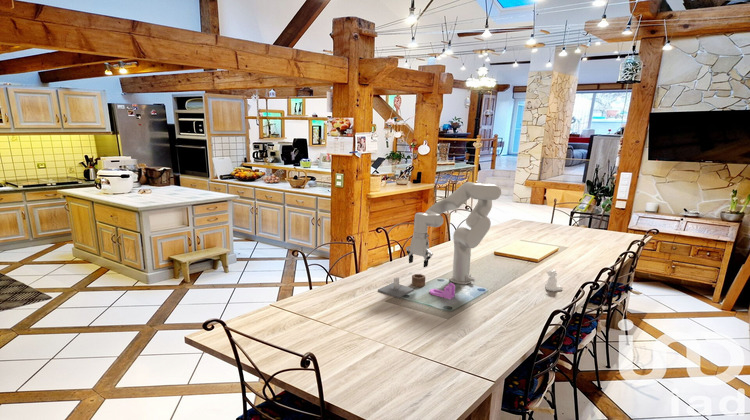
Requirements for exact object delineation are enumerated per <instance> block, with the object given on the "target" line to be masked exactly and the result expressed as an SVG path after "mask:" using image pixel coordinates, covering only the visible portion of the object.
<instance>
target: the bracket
mask: <svg viewBox="0 0 750 420" xmlns="http://www.w3.org/2000/svg"><path fill="white" fill-rule="evenodd" d="M429 294H430V295H433V296H437V297H440V298H443V297H444V298H443V299H447V298H448V299H447V300H452V299H453V298H454V297H455V296H456V285H455V283H453V282H450V283H448V285H445V286H444V289H443V290H442V289H438V288H431V289H429Z"/></svg>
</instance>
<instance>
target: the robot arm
mask: <svg viewBox="0 0 750 420" xmlns="http://www.w3.org/2000/svg"><path fill="white" fill-rule="evenodd" d="M501 196H502V189H501V188H500V186H499V185H497V184H493V183H489V182H480V183H476V182H472V181H466V182H464V183H462V184H461V185H460V186H459V187H458V188H457V189H455V190H454V191H453V192H452V193H451V194H450V195H449V196H447V197H445V198H443V199H441V200H439V201H437V202H435V203H433V204H432V205H431V206H430V207H428V209H426V210H425V211H424V212H416V213H415V214H414V223H413V234H412V235H413V236H412V237H411V240H410V245H409V246H406V247H405V250H406V253H407V256H408V264H411V263H413V262H414V255H415V256H419V257H423V259H424V260H423V268H426V267H427V268H428V266H429V260H430V259H431V258H432V257H433V255H434V253H433V252H432V251H431V250H430V242H429V237H430V234H428V229H429V228H428V227H432V228H439V227H441V226H442V225H443V224H444V217H443V216H442V214H443V213H446V212H449V211H454V210H457V209H459V208H461V207H462V205H464V204H466V202H467V201H468V200H470V199H473V200H477V203H476V205H475V206H474V208H473V209H472V210H471V212H470V213H469V215H468V216H467V218H466V220H465V224H466V226H467V228H466V227H464V226H460V227H458V228H456V229H455V230H454V232H453V236H452V237H453V239H452V240H453V261H452V263H453V265H452V275H451V276H450V277H449V281H450V283H453V284H458V285H467V284H468V285H469V284H470V283H472V282H473V283H475V282H476V277H475V276H472V273H470V271H471V270H470V269H471V256H472V254H471V253H472V250H471V249H475V248H476V247H478V245H480V243H481V242H482V241H483V239H484V238H485V236H486V235H487V234H488V232H489V230H490V228H491V219H490V218H489V217H488V215H489V213H490V212H491V210H492V208H493V201H495V200H498V199H499V198H500V197H501Z"/></svg>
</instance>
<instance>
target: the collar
mask: <svg viewBox="0 0 750 420" xmlns="http://www.w3.org/2000/svg"><path fill="white" fill-rule="evenodd" d="M411 285H412V286H413V287H416V288H422V287H424V286H426V276H425V274H422V273H415V274H412V275H411Z"/></svg>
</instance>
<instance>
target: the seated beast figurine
mask: <svg viewBox="0 0 750 420" xmlns="http://www.w3.org/2000/svg"><path fill="white" fill-rule="evenodd" d="M545 271H546V274H547V275H548V276H549V277H548V278H547V282H545V284H544V285H545V290H546V291H548V292H559V291H562V290H564V287H563V286H561V285H557V283H558V279H557V275H558V272H557V271H556V269H552V268H551V269H548V270H545Z"/></svg>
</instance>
